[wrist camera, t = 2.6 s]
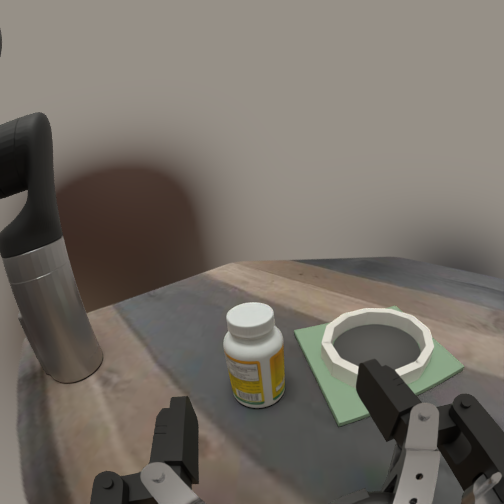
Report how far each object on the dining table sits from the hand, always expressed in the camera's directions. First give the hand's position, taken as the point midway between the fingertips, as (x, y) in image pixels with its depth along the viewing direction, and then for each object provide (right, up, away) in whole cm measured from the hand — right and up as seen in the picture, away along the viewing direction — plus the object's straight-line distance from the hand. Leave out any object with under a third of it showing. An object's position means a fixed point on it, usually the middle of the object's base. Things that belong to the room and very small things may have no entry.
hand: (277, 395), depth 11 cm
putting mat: (+13, -5, +17) cm, 22 cm away
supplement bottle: (0, -8, +14) cm, 16 cm away
